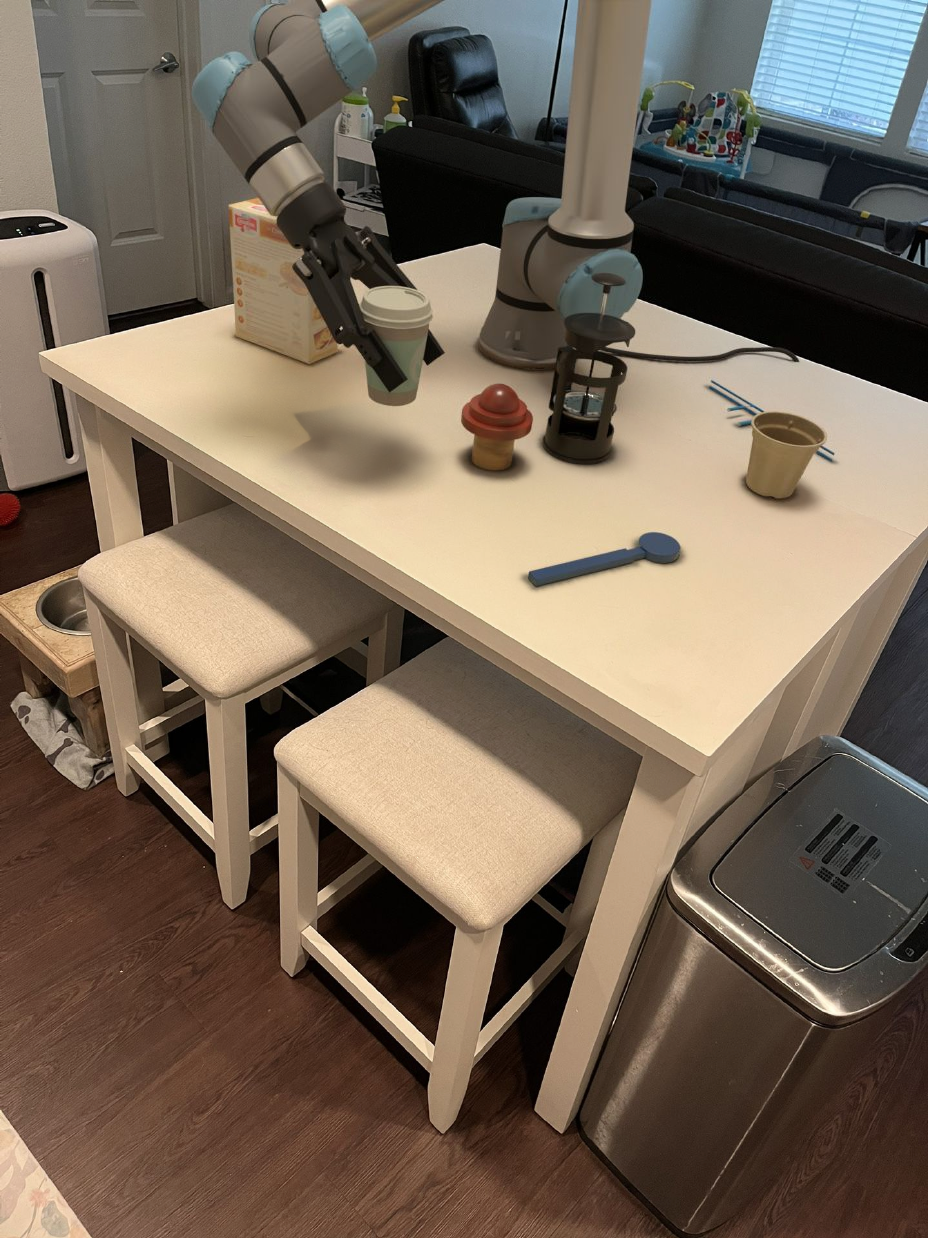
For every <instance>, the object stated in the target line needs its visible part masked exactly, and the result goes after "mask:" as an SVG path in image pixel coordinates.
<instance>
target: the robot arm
mask: <svg viewBox="0 0 928 1238" xmlns="http://www.w3.org/2000/svg"><path fill="white" fill-rule="evenodd" d="M444 1H445V0H291V1H288V2H287V3H282V2H278V3H277V2H276V3H270V4H267V5H265V6H263V7H261V8H260V9H259V10H258V11H257V12H256V13H255V15H254V16H253V18H252V20H251V23H250V26H249V30H248V31H249V32H248V41H249V47H250V50H251V52H252V55H253V57H254V59H255V61H256V62H255V63H252V62H251V61H250V60H249V59H247V58H246V56H245V55H244V54H243V53H242V52H239V51H229V52H226V53H225V54H224V55H223V56H221V57H220V56H219V57H215V59H213V60H211V61H210V62H209V63H208V64H206V65H205V66H204V67H203V68H202V69H201V71H199V73H198V74H197V75H196V78H195V79H194V81H193V84H192V87H191V100H192V103H193V105H194V106H195V107H196V109H197V111H198V112H199V114H200V115H201V117H202V119H203V120H204V122H205V123H206V125H207V127H208V128H209V130H210V131H211V134H212V135H213V136H214V138H215V139H216V140H217V142H218V143H219V144H220V146H221V147H222V149H223V150H224V151H225V153H226V155H227V156H228V157H229V159H230V160H231V161H232V163H233V164H234V165H235V167H236V169H237V170H238V171H239V172H240V174H241V175H242V177H243V178H244V179H245V181H246V182H247V184H248V185H249V186H250V187H251V189H252V190H253V192H254V193H255V195H256V196H257V198H259V199H260V201H261V202H262V203H263V205H264V206H265V208H266V209H267V211H268V212H269V214H270V215H271V216H275V217H276V216H278V217H277V219H276V221H277V223H276V224H277V226H278V227H279V229H280V230H281V232H282V233H283V235H284V236H285V238H286V239H287V240H288V242H289V243H290V245H291V246H292V247H293V248H294V249H303V251H304V254H303V255H302V256H301V257H300V258H299V259H298V260H297V261H296V262H295V263H294V264H293V265H292V268H293V270H294V272H295V273H296V274H297V275H298V276H299V278H300V279H301V280H302V281H303V282H304V284H305V285H306V287H307V289H308V291H309V293H310V295H311V297H312V299H313V300H314V302H315V304H316V306H317V308H318V310H319V312H320V314H321V316H322V317H323V319H324V321H325V323H326V325H327V327H328V329H329V331H330V332H331V334H332V336H333V338H334V340H335V342H336V343H337V344H338V345H339V346H340V345H343V346H344V347H345V348H347V349H350V348H351V347H352V346H354V347H355V348H356V350H357V351H358V352H359V354H360V356H361V357H362V358H363V360H364V362H365V361H366V362H367V364H368V365H369V366H370V367H371V368H373V370H374V371H375V373H376V374H377V376H378V377H379V378H380V380H381V381H382V383H383V384H384V386H385V387H386V389H387V390H388V391H389V393H390V392H391V391H393V390H394V389H395V388H397V387H398V386H399V385H401V384H402V383H404V382H405V381H406V380H408V378H407V377H406V376H405V374H404V373H403V371H402V370H401V368H400V367H399V365H398V364H397V362H396V361H395V359H394V358H393V357H392V355H391V354H390V352H389V351H388V349H387V348H386V346H385V345H384V343H383V342H382V341H381V339H380V338H379V336H378V335H377V333H376V332H375V330H373V331H371V332H370V333H369V334H367V333H368V329H367V326H366V323H365V320H364V318H363V315H362V312H361V309H360V306H359V305H360V302H359V301H358V297H357V295H356V292H355V290H354V289H355V288H354V286H353V283H352V280H353V281H359V282H361V284H363V285H364V286H365V287H366V288H367V289H368V290H369V289H372V288H375V287H381V286H401V287H407V288H412V289H415V290H418V288H417V287H416V286H415V285H414V284H413V282H412V281H411V280H410V279H409V277H407V275H406V273H404V271H402V269H401V268H400V267H399V266H398V264H397V263H396V262H395V260H393V258H392V257H391V256H390V255H389V253H388V252H387V251H386V249H385V248H384V247H383V246H382V245H381V244H380V243H379V241H378V239H377V237H376V236H375V234H374V232H373V230H372V228H370V226H368V225H365V226H364V227H362V229H360V230H359V231H355V230H354V229H353V228H352V227H351V226H349V225H348V223H347V222H346V221H345V215H346V214H347V208H346V205H345V203H344V202H343V200H342V199H341V198H340V196H339V194H338V193H337V192H336V190H335V188H334V187H333V186H332V183H329V182H327V181H325V173H324V171H323V170H322V168H321V167H320V165H319V164H318V163H317V161H316V160H315V158H314V157H313V156H312V154H311V152H310V151H309V150H308V148H307V147H306V145H305V144H304V143H303V141H302V140H301V138H300V137H299V135H298V134H297V132H298V131H299V130H300V129H302V128H304V127H305V126H307V125H308V124H309V123H311V121H313V120H315V119H316V118H317V117H319V116H320V115H321V114H323V113H324V112H326V111H327V110H328V109H330V108H331V107H333V106H334V105H336V104H337V103H339V102H340V101H341V100H342V99H345V97H347V96H348V95H350V94H351V93H353V92H356V91H357V90H359V89H358V88H359V87H361V85H363V84H364V83H365V82H366V81H367V80H368V79H370V78H371V77H372V76H373V75H374V74H375V73H376V71H377V66H378V60H377V56H376V53H375V52H376V51H375V50H374V47H373V43H372V42H373V41H375V40H376V39H378V38H381V37H382V36H383V35H385V34H388V33H389V32H391V31H393V30H394V29H397V28H398V27H399V26H402V25H403V24H405V23H407V22H408V21H410V20H412V19H414V18H416V17H418V16H420V15H421V14H423V13H425V12H427V11H428V10H430V9H431V8H433V7H435V6H437V5H439V4H440V3H442V2H444ZM652 1H653V0H577V13H576V24H575V34H574V35H575V36H574V46H573V47H574V48H573V58H572V59H573V60H572V71H571V82H570V94H569V96H570V97H569V104H568V116H567V117H568V118H567V127H566V128H567V130H566V141H565V152H564V153H565V154H564V162H563V177H562V187H561V198H557V197H542V196H537V197H536V196H534V197H533V196H532V197H531V196H530V197H520V198H519V197H518V198H516V199H513V200H511V201H510V202H509V203H508V204H507V205H506V208H505V214H504V218H503V222H502V225H501V227H502V232H501V242H500V252H499V261H498V267H497V279H496V287H495V295H494V300H493V302H492V305H491V307H490V309H489V311H488V313H487V316H486V318H485V320H484V323H483V325H482V327H481V329H480V332H479V336H478V343H477V345H478V349H479V351H480V352H481V353H482V354H483V355H484V356H485V357H487V358H488V359H490V360H492V361H494V362H496V363H499V364H502V365H505V366H508V367H513V368H517V369H523V370H537V371H539V370H551V369H555V364H556V358H557V352H558V348H559V347H565V346H570V345H568V344H567V342H566V341H565V335H566V328H565V327H564V320H565V318H566V317H568V316H570V315H573V314H577V313H599V314H601V309H602V304H603V299H604V293H603V285H602V284H599V283H596V282H595V281H593V280H592V278H591V277H592V275H594V274H596V273H611V274H615V275H618V276H620V277H622V278H624V279H625V280H626V283H625V284H624V285H622V286H611V290H610V294H607V299H606V304H605V309H604V314H605V315H610V316H613V317H617V318H619V319H622V318H623V316H624V314H627V313H628V312H629V311H630V310H631V309H632V308H633V306H634V305H635V303H636V301H638V298H639V296H640V293H641V290H642V287H643V279H644V278H643V277H644V276H643V269H642V265H641V263H640V262H639V260H638V258H637V257H636V256H635V254H633V253H631V252H632V251H631V250H632V243H633V236H634V229H635V223H634V221H633V220H632V218H631V217H630V216H629V214H627V212H626V203H627V195H628V188H629V181H630V172H631V166H632V165H631V164H632V158H633V157H632V156H633V149H634V141H635V133H636V126H637V118H638V110H639V103H640V94H641V86H642V78H643V71H644V63H645V56H646V48H647V42H648V41H647V40H648V34H649V33H648V32H649V26H650V19H651V18H650V16H651V10H652V9H651V8H652ZM351 279H352V280H351ZM570 347H571V346H570ZM572 348H573V347H572ZM599 351H601V352H605V353H608V354H613V355H614V354H615V355H621V356H627V357H633V358H639V359H645V360H646V359H647V360H655V361H656V360H658V361H671V362H710V361H711V362H712V361H719V360H723V359H724V360H725V359H726V358H729V357H732V356H735V355H737V354H743V353H780V354H784V355H786V356H788V357H790V359H791V360H792V361H793V362H795V363H800V359H799V358H798V357H797V355H796V354H795V353H793V352H792V351H790V350H788V349H786V348H783V347H776V346H759V347H758V346H757V347H740V348H735V349H732V350H730V351H727V352H724V353H720V354H715V355H705V356H704V355H703V356H701V355H700V356H681V355H664V354H655V353H654V354H653V353H651V354H650V353H644V352H637V351H629V350H624V349H618V348H614V347H613V348H612V347H608V346H606V347H604V348H602V349H601V350H599ZM445 353H446V352H445V350H444V349H443V347H442V346H441V344H440V343H439V341H438V340H437V338H436V337H435V335H434V334H433V333H432V331H431V329H430V328H429V329H428V335H427V340H426V346H425V351H424V357H423V362H424V363H425V365H426V366H427V367H428V366H429V365H431V364H432V363H434V362H435V361H436V360H438V359H439V358H440V357H441V356H443V355H444V354H445Z"/></svg>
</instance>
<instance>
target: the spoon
mask: <svg viewBox="0 0 928 1238" xmlns="http://www.w3.org/2000/svg"><path fill="white" fill-rule="evenodd" d="M680 551H681V545H680V542H679V541H678V540H677V539H676V538H675V537H673V536H671V535H668V534H666V533H663V532H659V531H657V532H656V531H650V532H649V531H648V532H645V533H643V534H642V535H641V536H639V539H638V542H637V546H636V547H633V548H630V549H627V548H626V547H625V548H621V549H616V550H613V551H608V552H605V553H600V554H596V555H592V556H588V557H583V558H578V559H575V560H570V561H566V562H563V563H562V562H561V563H558V564H554V565H550V566H545V567H542V568H537V569H533V570H529V571H528V575H527V579H528V580H529V581H530V582H531V583H532V584H533V586H535V587H538V586H543V585H548V584H551V583H555V582H559V581H563V580H566V579H572V578H575V577H579V576H583V575H588V574H591V573H595V572H599V571H602V570H608V569H612V568H615V567H619V566H623V565H627V564H630V563H633V562H634V561H638V560H642V559H646V560H648V561H651V562H653V563H658V564H659V563H660V564H668V563H673V562H674V561H676V560H677V559H678V558H679V555H680V553H681V552H680Z"/></svg>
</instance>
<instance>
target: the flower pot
mask: <svg viewBox="0 0 928 1238" xmlns="http://www.w3.org/2000/svg"><path fill="white" fill-rule="evenodd" d="M756 414H757V415H753V417H752V418H751V419H750V420H751V424H750V425H751V428H752V430H751V436H752V440H751V447H750V453H749V459H748V464H747V465H748V466H747V471H746V476H745V482H746V486H747V488H749V490H751V491H752V492H754V493H756V494H757V495H760V496H762V497H773V498H774V499H785V498H788V497H790V496H791V495H793V493H794V491H795V489H796V488H797V486H798V483H799V482H800V480H801V478H802V476H803V474H804V473H805V471H806V470H807V467H808V466H809V464H810V462H811V460H812V458H813V456H814V455H815V454H817V453H816V452H817V451H819V449H820V446H824V445H825V443H826V442H827V441H828V433H827V431H826V430H825V429H824V428H823V427H822V426H821V425H819V424H818V423H816V422H814V421H813V420H811V419H809V418H806V417H804V416H801V415H798V414H795V413H791V412H787V411H786V412H785V411H780V410H779V411H778V410H775V411H774V410H768V411H765V412H759V413H756Z"/></svg>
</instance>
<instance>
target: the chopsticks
mask: <svg viewBox="0 0 928 1238" xmlns="http://www.w3.org/2000/svg"><path fill="white" fill-rule="evenodd" d="M710 383H712V384H713V385H715V386H717V387H718V388H720V389H722V390H723V391H725V392H726V393H728V394H730V395H732V396H733V397H735V398H737V399H738V400H740V401H742V402H743V403H744V404H747V406H745V405H743V404H741V403H740V402H738V401H736V400H735V399H733V398H731V397H730V396H728V395H726V394H725V393H723V392H721V391H720V390H719V389H717V388H715V387H713V386H712V385H709V386H708V388H709V389H710V390H712V391H714V392H716V393H717V394H719V395H720V396H722V397H723V398H725V399H726V400H728V401H730V402H732V403H733V404H735V405H737V406H734V407H733V406H732V407H727V412H728V413H729V412H735V411H740V410H745V411H746V412H748V413H750V414H752V415H753V416H755V415H757V414H758V413H756V412H755V411H753V410H751V409H750V408H753V409H755V410H756V411H759V413H761V412H766V411H765V410H763V409H762V408H760V407H758V406H756V405H755V404H753V403H752V402H749V400H746V399H744V398H743V397H742V396H740V395H738V394H736V393H735V392H734V391H732V390H730V389H728V388H726V387H725V386H723V385H721V384H720V383H718V382H716V381H714V380H713V379H711V380H710ZM749 407H750V408H749ZM751 420H752V419H750V420H745V421H739V422H738V426H746V425H751ZM819 449H822V450H823V451H825V452H827V453H828V454H830V455H832V456H835V452H834V451H832V450H831V449H828V448H827V447H825V446H824V445H822V446H820V447H819ZM815 454H818V455H819V456H821V457H823V458H825V459H826V460H828V461H829V462H832V461H833V458H831V457H829V456H828V455H826V454H824V453H823V452H821V451H819V450H818V451H817V452H816V453H815Z"/></svg>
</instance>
